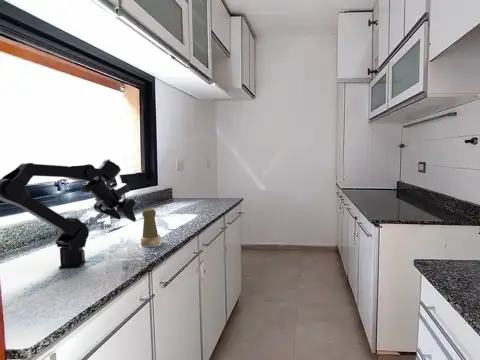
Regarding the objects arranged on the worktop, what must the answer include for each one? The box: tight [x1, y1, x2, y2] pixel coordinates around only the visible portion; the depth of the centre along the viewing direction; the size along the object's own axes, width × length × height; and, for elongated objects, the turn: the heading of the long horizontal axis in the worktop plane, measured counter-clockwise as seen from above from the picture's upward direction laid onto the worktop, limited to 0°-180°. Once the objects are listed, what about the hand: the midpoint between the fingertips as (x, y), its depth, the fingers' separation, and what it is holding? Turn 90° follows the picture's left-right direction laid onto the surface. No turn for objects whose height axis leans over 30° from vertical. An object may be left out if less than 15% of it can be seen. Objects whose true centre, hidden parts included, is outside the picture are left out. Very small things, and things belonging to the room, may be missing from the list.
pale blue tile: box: [138, 240, 163, 248], centre depth 146 cm, size 12×11×1 cm
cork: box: [141, 208, 159, 238], centre depth 145 cm, size 6×6×11 cm
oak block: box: [140, 233, 162, 247], centre depth 146 cm, size 6×6×3 cm
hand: (127, 219), depth 140 cm, fingers open, 9 cm apart
